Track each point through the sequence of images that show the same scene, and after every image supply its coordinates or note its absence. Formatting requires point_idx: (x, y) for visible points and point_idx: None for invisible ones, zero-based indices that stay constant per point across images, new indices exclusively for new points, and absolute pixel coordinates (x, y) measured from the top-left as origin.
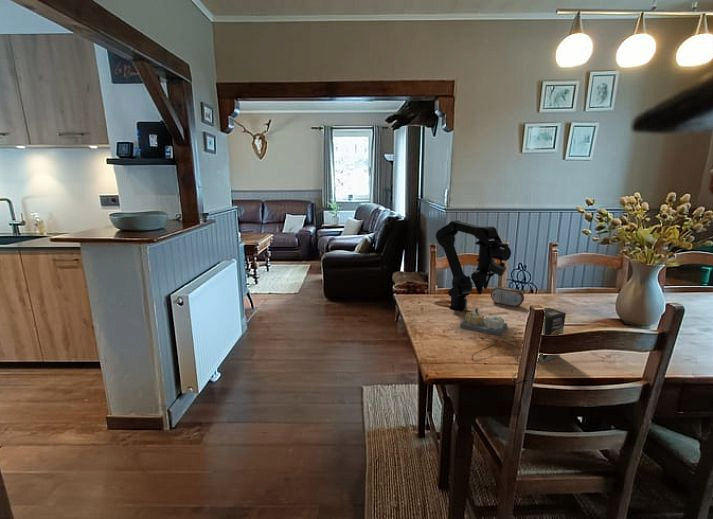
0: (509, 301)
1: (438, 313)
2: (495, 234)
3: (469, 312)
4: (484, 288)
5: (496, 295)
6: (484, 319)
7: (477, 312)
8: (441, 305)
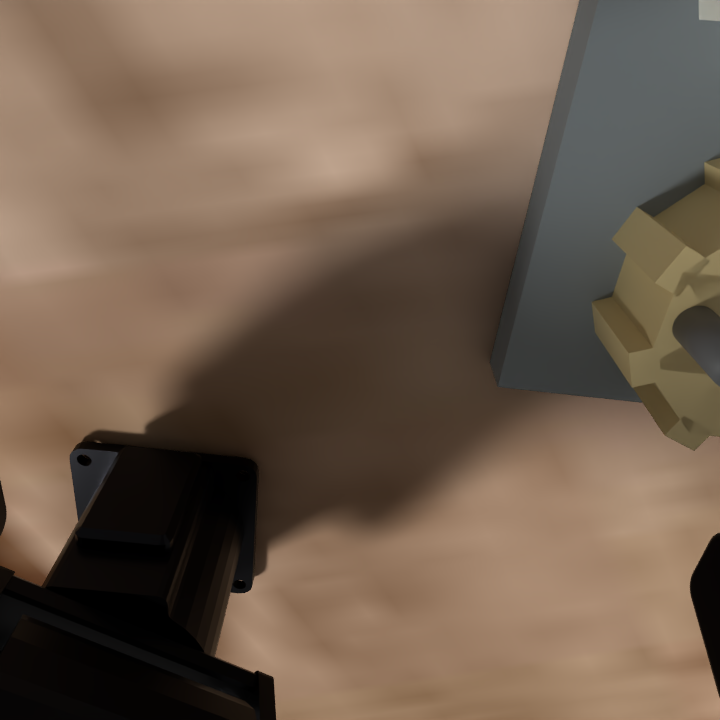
0: None
1: (449, 631)
2: None
3: (687, 420)
4: (2, 513)
5: None
6: (594, 153)
7: (713, 314)
8: None
